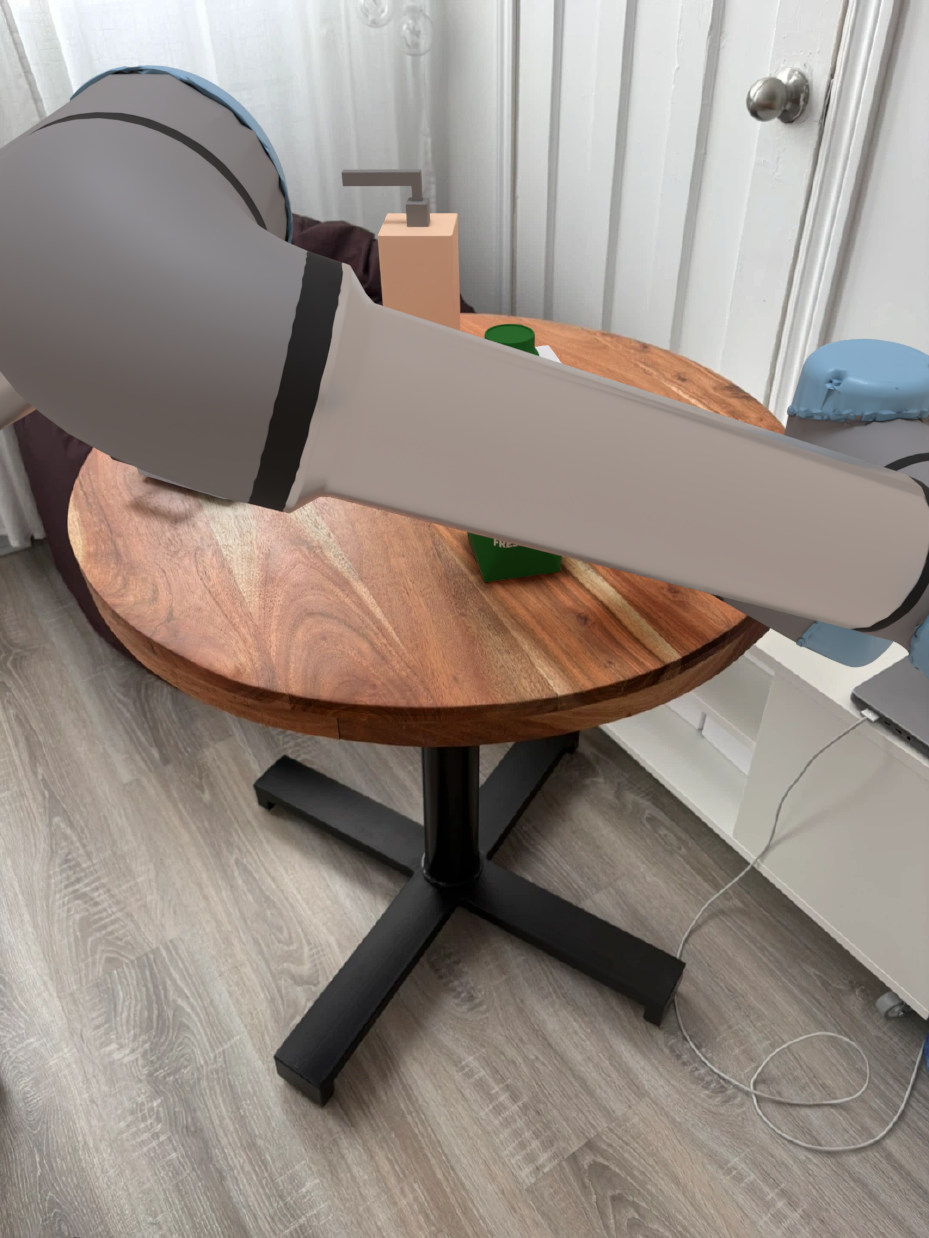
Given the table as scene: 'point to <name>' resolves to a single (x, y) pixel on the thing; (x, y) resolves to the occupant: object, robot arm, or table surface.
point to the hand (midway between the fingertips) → (487, 423)
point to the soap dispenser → (416, 251)
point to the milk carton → (495, 554)
